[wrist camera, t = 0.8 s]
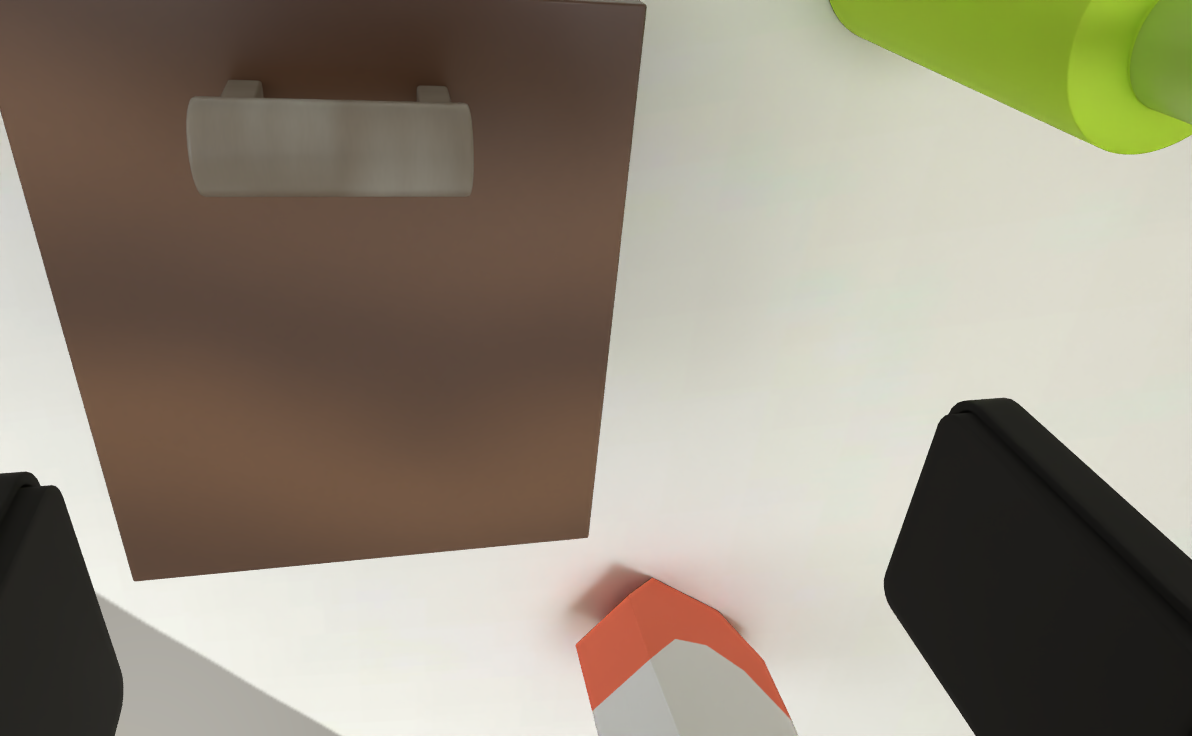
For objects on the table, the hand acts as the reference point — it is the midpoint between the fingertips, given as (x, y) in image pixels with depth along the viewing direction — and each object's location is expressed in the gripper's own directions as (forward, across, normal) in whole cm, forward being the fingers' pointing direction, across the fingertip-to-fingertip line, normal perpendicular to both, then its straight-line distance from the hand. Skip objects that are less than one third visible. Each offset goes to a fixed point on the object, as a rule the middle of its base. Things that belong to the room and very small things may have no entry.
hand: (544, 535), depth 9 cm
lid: (+14, +2, +5) cm, 15 cm away
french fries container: (+24, -12, +30) cm, 41 cm away
